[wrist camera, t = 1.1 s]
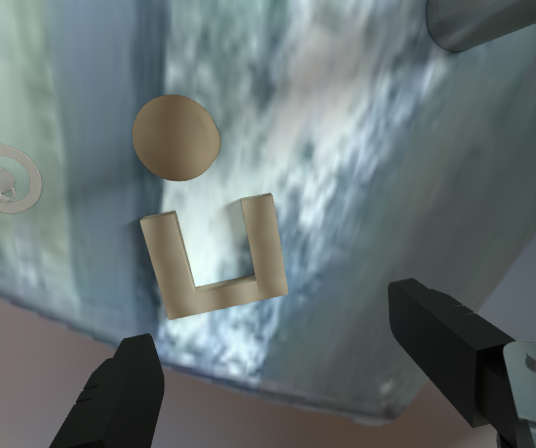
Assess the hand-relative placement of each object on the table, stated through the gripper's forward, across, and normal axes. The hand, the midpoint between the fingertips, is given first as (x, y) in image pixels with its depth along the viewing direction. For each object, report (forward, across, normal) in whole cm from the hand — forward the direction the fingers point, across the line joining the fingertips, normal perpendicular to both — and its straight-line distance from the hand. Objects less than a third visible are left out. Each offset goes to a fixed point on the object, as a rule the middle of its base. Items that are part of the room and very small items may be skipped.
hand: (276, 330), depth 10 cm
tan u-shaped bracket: (+30, +4, +8) cm, 31 cm away
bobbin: (+30, +4, -7) cm, 31 cm away
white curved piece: (+31, +25, -9) cm, 41 cm away
